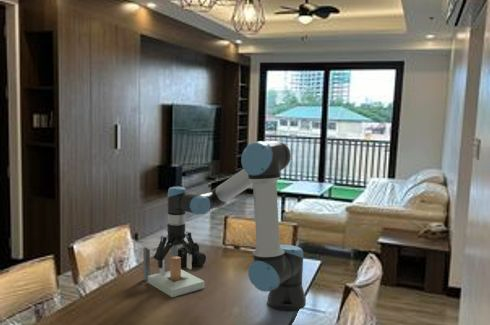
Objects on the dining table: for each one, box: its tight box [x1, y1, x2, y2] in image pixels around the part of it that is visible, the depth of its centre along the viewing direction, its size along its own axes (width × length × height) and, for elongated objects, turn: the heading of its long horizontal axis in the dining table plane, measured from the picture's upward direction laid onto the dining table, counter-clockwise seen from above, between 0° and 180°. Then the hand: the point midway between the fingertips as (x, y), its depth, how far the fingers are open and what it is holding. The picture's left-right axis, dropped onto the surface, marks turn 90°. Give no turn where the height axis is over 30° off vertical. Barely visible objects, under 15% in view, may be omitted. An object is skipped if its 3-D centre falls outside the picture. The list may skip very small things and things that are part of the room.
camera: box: [177, 242, 207, 269], centre depth 218 cm, size 14×11×10 cm
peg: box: [169, 256, 182, 282], centre depth 192 cm, size 4×4×12 cm
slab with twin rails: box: [142, 240, 183, 282], centre depth 199 cm, size 8×16×16 cm, turn 131°
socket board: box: [147, 268, 206, 298], centre depth 192 cm, size 20×16×3 cm
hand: (175, 271), depth 192 cm, fingers open, 13 cm apart
